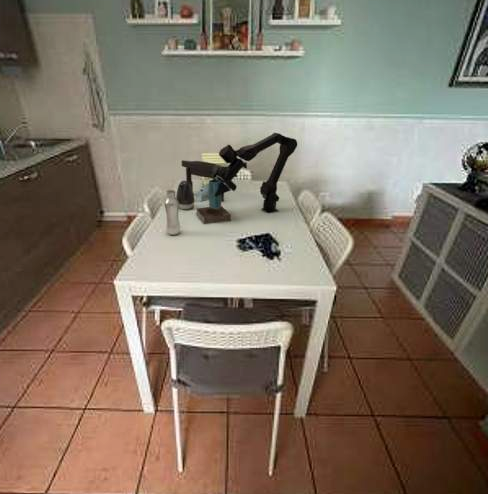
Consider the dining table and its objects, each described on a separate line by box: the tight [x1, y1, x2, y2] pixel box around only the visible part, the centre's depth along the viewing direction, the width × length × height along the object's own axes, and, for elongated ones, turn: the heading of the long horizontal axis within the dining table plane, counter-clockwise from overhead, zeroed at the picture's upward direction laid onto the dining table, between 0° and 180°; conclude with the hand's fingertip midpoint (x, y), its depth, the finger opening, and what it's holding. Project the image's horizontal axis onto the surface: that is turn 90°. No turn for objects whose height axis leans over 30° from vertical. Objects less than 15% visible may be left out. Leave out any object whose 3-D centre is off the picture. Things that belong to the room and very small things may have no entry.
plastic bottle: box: [163, 189, 182, 236], centre depth 146 cm, size 6×7×20 cm
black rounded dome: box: [175, 180, 196, 210], centre depth 177 cm, size 10×10×15 cm
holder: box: [195, 205, 232, 225], centre depth 168 cm, size 14×14×3 cm
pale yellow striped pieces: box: [201, 152, 230, 185], centre depth 217 cm, size 30×16×18 cm, turn 7°
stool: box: [181, 160, 225, 203], centre depth 191 cm, size 16×21×33 cm
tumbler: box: [208, 178, 222, 209], centre depth 160 cm, size 6×6×13 cm
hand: (212, 194), depth 160 cm, fingers closed on tumbler, 6 cm apart
